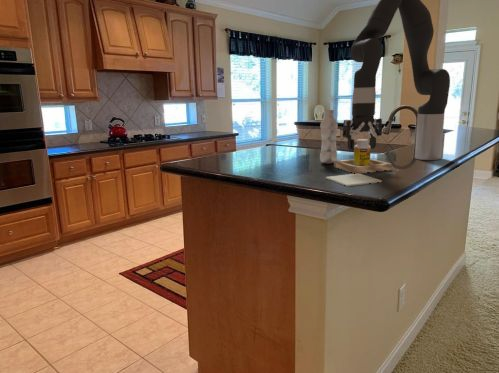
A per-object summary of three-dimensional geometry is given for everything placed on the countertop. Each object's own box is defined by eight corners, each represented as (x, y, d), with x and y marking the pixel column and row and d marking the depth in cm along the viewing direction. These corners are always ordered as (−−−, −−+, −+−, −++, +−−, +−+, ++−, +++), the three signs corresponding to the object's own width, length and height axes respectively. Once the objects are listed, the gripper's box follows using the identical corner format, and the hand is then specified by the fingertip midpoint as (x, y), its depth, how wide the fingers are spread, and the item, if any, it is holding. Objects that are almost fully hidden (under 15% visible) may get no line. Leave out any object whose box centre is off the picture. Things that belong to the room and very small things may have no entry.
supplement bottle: (358, 170, 133) (359, 141, 131) (350, 167, 139) (351, 139, 136) (372, 169, 134) (374, 139, 132) (364, 166, 140) (365, 138, 137)
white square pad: (358, 174, 127) (358, 173, 127) (381, 182, 116) (381, 180, 116) (325, 178, 123) (325, 176, 123) (347, 186, 112) (347, 184, 112)
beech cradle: (366, 163, 145) (366, 157, 145) (391, 169, 132) (391, 163, 132) (333, 167, 141) (333, 161, 140) (356, 174, 128) (356, 167, 127)
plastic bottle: (340, 162, 148) (341, 109, 143) (331, 165, 143) (332, 110, 138) (326, 161, 152) (326, 109, 148) (316, 164, 148) (316, 110, 143)
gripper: (374, 101, 137) (372, 146, 140) (339, 102, 132) (338, 149, 136) (388, 101, 130) (385, 149, 134) (352, 102, 125) (350, 152, 129)
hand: (361, 149), depth 135 cm, fingers open, 8 cm apart
